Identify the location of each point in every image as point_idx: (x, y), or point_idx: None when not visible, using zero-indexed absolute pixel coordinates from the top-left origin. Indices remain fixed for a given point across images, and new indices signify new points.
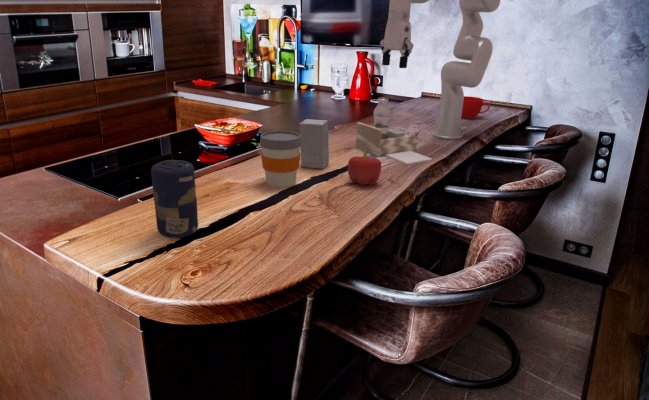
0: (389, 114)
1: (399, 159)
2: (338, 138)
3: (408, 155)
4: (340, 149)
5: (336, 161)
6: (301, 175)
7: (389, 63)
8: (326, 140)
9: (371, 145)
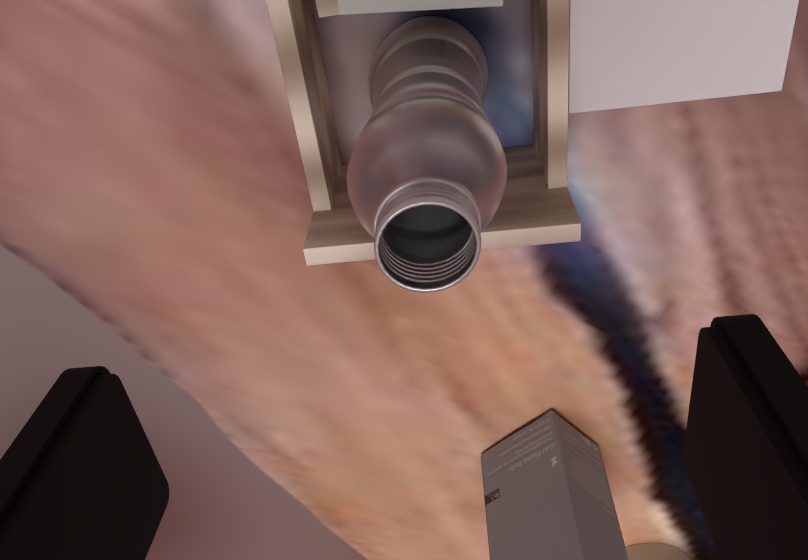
0: (501, 145)
1: (695, 91)
2: (93, 176)
3: None
4: (339, 269)
5: (523, 364)
6: None
7: (99, 392)
8: (595, 523)
9: None
